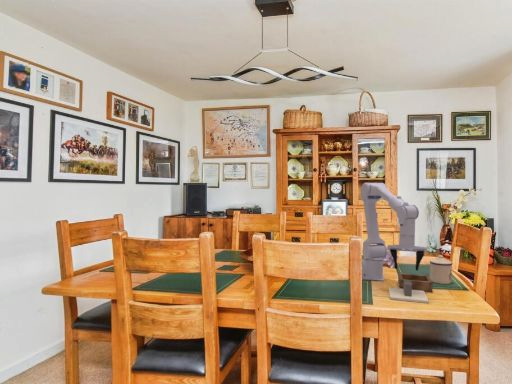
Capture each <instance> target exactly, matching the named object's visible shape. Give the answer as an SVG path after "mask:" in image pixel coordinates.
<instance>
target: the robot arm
mask: <svg viewBox="0 0 512 384" xmlns="http://www.w3.org/2000/svg"><path fill="white" fill-rule="evenodd" d="M360 194H361V202H363V210H364V218H365V226H366V235H367V238H366V239H365V240H363V242H362V254H363V257H364V258H362V261H361V270H362V274H361V279H362V280H369V281H381V282H384V281H385V277H384V264H383V260H384V259H385V257H386V256H387V251H389V250H390V252H391V255H392V257H393V260H394V269H396V270H398V259H397V256H398V253H397V251H398V252H400V251H401V252H415V271H419V269H420V268H419V267H420V264H421V262H422V259H424V256H425V254H428V247H426V246H417V245H415V244H416V241H415V240H416V220H417V219H418V218H419V215H420V213H419V212H420V211H419V208H418V207H417V205H415V204H409V202H407V201H405V200H404V199H403V198H402V196H401V195H394V194H393V193H392V192H391V191H390V190H389V189H388V186H387V184H385V183H384V182H364V183H363V184H362V185H361V188H360ZM381 199H384V200H385V201H387V204H388V207H389V208H391V209H392V210H393V211H394V212H395V213H396V218H397V220H398V221H397V222H398V224H399V229H398V230H399V235H398V236H399V237H398V239H399V240H398V244H387V246H386V241H385V240H384V239H382V238H381V237H380V231H379V221H378V215H377V214H378V213H377V207H376V206H377V205H376V204H377V202H379V201H380V200H381Z"/></svg>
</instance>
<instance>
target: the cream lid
mask: <svg viewBox="0 0 512 384" xmlns="http://www.w3.org/2000/svg"><path fill="white" fill-rule="evenodd" d="M388 295H389V300H393V301H394V300H395V301H405V302H413V303H423V304H430V301H429V299H428V296H427V295H426V292H424V291H420V290H412V284H411V281H405V280H404V289H400V288H398V287H397V288H396V287H388Z"/></svg>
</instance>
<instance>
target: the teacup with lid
mask: <svg viewBox="0 0 512 384" xmlns="http://www.w3.org/2000/svg"><path fill="white" fill-rule="evenodd" d="M452 265H453V261H451V260H449V259H447V258H445V257H444V255H442V254H440V255H439V254H438V256H437V257H435V258H432V259H430V260H429V278H430V279H431V281H432V282H433V283H434V284H441V285H446V284H447V285H449V284H451V283H452V277H453V275H452V274H453V273H452V270H453V269H452V268H453V267H452Z"/></svg>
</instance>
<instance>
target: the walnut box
mask: <svg viewBox="0 0 512 384" xmlns="http://www.w3.org/2000/svg"><path fill="white" fill-rule="evenodd" d="M397 279H398V281H397V283H398V286H399V289H404V280H405V281H411V284H412V290H420V291H424V292H425V293H433V287H434V286H433V283H434V282H432V281H431V279H430V275H425V274H416V273H415V274H413V273H401V272H398V278H397Z"/></svg>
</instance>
